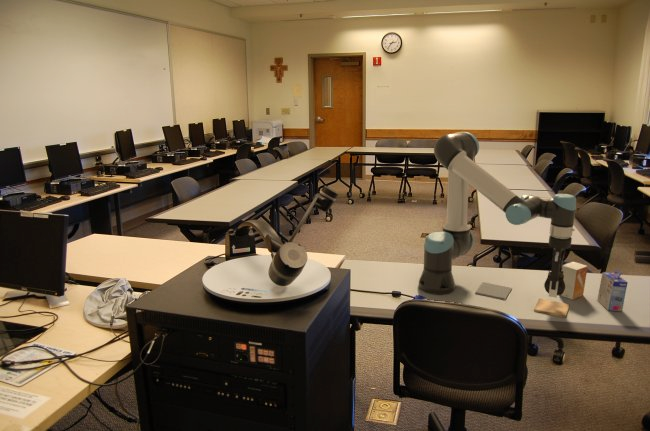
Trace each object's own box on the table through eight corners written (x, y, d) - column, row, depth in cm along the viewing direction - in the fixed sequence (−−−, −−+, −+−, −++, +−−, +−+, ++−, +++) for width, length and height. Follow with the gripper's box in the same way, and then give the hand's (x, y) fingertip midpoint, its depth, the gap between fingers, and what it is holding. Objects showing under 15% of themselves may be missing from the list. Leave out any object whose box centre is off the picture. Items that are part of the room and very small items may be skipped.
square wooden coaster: (534, 310, 184) (534, 309, 184) (538, 300, 193) (538, 298, 193) (565, 317, 178) (565, 315, 178) (569, 306, 187) (569, 304, 187)
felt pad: (475, 293, 200) (475, 292, 200) (482, 283, 210) (482, 282, 209) (505, 299, 194) (505, 298, 193) (511, 289, 203) (511, 287, 203)
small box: (572, 300, 192) (576, 270, 189) (557, 294, 197) (561, 265, 194) (583, 295, 197) (588, 265, 193) (569, 290, 202) (572, 261, 198)
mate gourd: (568, 294, 183) (571, 269, 180) (556, 299, 179) (559, 274, 176) (551, 287, 189) (553, 264, 186) (539, 292, 185) (541, 268, 182)
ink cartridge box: (623, 311, 182) (629, 276, 178) (608, 311, 183) (613, 276, 179) (611, 300, 192) (616, 266, 188) (596, 300, 192) (601, 266, 189)
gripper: (568, 245, 168) (561, 305, 174) (574, 230, 184) (567, 285, 190) (545, 241, 172) (539, 300, 178) (553, 227, 188) (547, 281, 194)
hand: (554, 292), depth 184 cm, fingers closed on mate gourd, 7 cm apart
